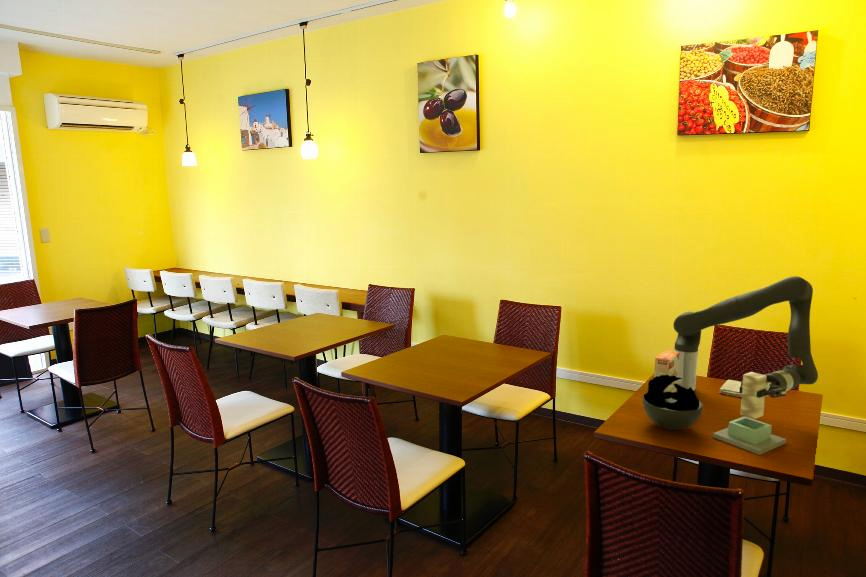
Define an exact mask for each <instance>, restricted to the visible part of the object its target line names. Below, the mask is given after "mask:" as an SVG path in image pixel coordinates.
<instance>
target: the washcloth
mask: <svg viewBox="0 0 866 577" xmlns="http://www.w3.org/2000/svg"><path fill="white" fill-rule="evenodd" d="M740 386H741V381H738V380H733V379H727V380H726V381H725V382H724V383H723V385H722V386H721V387H720V388H719V393H724V394H728V395H733V396H732V397H734V396H738V397H737V398H739V397H742V393H740V391H739V390H740ZM724 394H723V395H724ZM728 395H727V396H728Z"/></svg>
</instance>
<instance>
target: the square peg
mask: <svg viewBox="0 0 866 577" xmlns="http://www.w3.org/2000/svg"><path fill="white" fill-rule="evenodd" d="M766 377H767V376H766V374H761V373H757V372H753V371H750V372H747V373H744V374H743V375H742V381H743V386H742V387H743V388H742V398H740V399H741V401H740V402H741V403H740V413H739V414H740V415H741V416H745V417H748V418H751V419H754V420H757V419H759V418H761V417H763V416H764V411H765V400H766V399H765V398H766V396H764V397H760V398H758V397H756V395H757V391H759V390H762V389H765V388H766Z"/></svg>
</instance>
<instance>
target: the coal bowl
mask: <svg viewBox="0 0 866 577" xmlns="http://www.w3.org/2000/svg"><path fill="white" fill-rule="evenodd" d="M679 379H682V378H679V377H676V376H674V375H672V376H669V375H660V376H659V377H658V376H656V377H654V376H653V378H652V379H649V381H648V383H647V384H648V386H647V387H648V388H647V392H646V393H644V394H643V396H642V399H641V400H642V406H643V409H644V411H645V413H646V416H648V417H649V419H650V420H651V421H652V422H653V423H654V424H656V425H657V426H658V427H661V428H663V429H666V430H670V431H671V430H672V431H679V430H684V429H686V428H690V427H691V426H693V425H694V424H696V422H697V421H698V420H699V419H700V417H701V414H702V412H703V410H704V409H703V408H704V404H703V402H702V401H701V400H699V398H698V397H697V394H696V393H695V390H694V391H693V389H692V388H689V389H686V388H685V387H682V386H680V385H679V384H673V385H674V387H675V388H676V389H677V390H676V392H664V390H665V389H666V388H667V387H668V386H669V385H670V384H671V383H672V382H674V381H677V380H679Z"/></svg>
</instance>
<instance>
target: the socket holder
mask: <svg viewBox="0 0 866 577" xmlns="http://www.w3.org/2000/svg"><path fill="white" fill-rule="evenodd" d="M772 427H773V425H772V424H769V423H766V422H763V421H759V420H757V419H754V418H751V417H748V416H745V415H743V416H741V417H738V418H735V419H733V420H731V421H729V422H728V427H726V428H723V429H721V430H718V431H716V432H712V438H714V439H715V440H716V439H717V440H719V441H721V442H724V443H727V444H730V445H732V446H734V447H738V448H739V449H742V450H745V451H747V452H751V453H753V454H756V455H758V456H760V455H763V454H765V453H767V452H769V451H771V450H774V449H776V448H778V447H780V446H783V445H785V444H786V442H787V438H783V437H780V436H778V435H775V434H772Z"/></svg>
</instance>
